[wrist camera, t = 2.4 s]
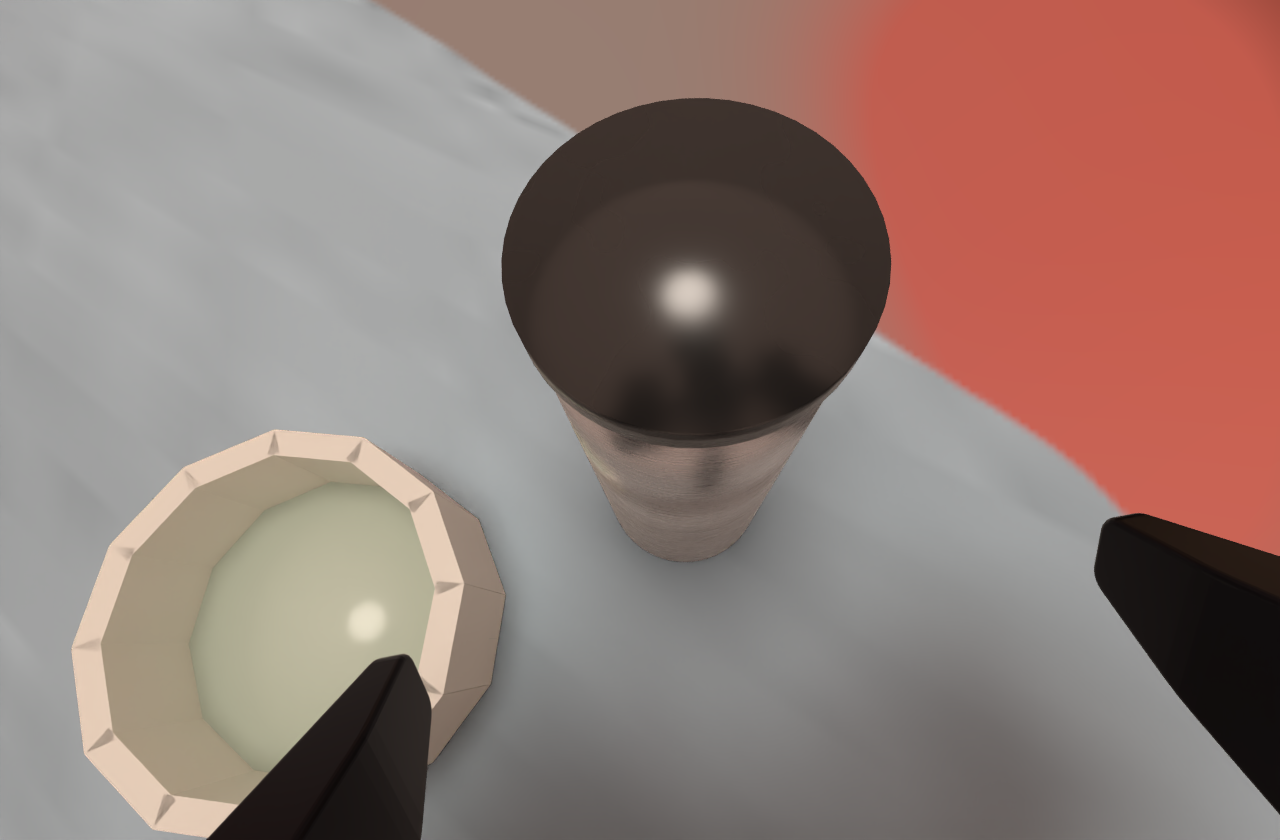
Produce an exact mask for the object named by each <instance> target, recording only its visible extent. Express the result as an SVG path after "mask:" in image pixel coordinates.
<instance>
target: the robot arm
mask: <svg viewBox="0 0 1280 840" xmlns="http://www.w3.org/2000/svg"><path fill="white" fill-rule="evenodd" d="M1094 573H1095V578H1096V581H1097V583H1098V585H1099V587H1100V589H1101V591H1102V592H1103V593H1104V595H1105V596H1106V598H1107V599H1108V600H1109V602H1110V603H1111V605H1112V606H1113V607H1114V609H1115V610H1116V611H1117V613H1118V614H1119V616H1120V617H1121V618H1122V620H1123V621H1124V623H1125V624H1126V625H1127V627H1128V628H1129V630H1130V631H1131V632H1132V634H1133V635H1134V637H1135V638H1136V639H1137V641H1138V642H1139V644H1140V645H1141V646H1142V648H1143V649H1144V651H1145V652H1146V653H1147V655H1148V656H1149V657H1150V659H1151V660H1152V662H1153V663H1154V664H1155V666H1156V667H1157V669H1158V670H1159V671H1160V673H1161V674H1162V676H1163V677H1164V678H1165V680H1166V681H1167V682H1168V684H1169V685H1170V686H1171V688H1172V689H1173V690H1174V691H1175V693H1176V694H1177V695H1178V697H1179V698H1180V699H1181V700H1182V701H1183V703H1184V704H1185V705H1186V706H1187V707H1188V709H1189V710H1190V711H1191V712H1192V714H1193V715H1194V716H1195V717H1196V718H1197V719H1198V721H1199V722H1200V723H1201V724H1202V725H1203V726H1204V727H1205V729H1206V730H1207V731H1208V732H1209V733H1210V734H1211V736H1212V737H1213V738H1214V739H1215V740H1216V741H1217V743H1218V744H1219V745H1220V746H1221V747H1222V748H1223V749H1224V751H1225V752H1226V753H1227V754H1228V755H1229V756H1230V758H1231V759H1232V760H1233V761H1234V762H1235V763H1236V765H1237V766H1238V767H1239V768H1240V769H1241V770H1242V771H1243V773H1244V774H1245V775H1246V776H1247V777H1248V778H1249V780H1250V781H1251V782H1252V783H1253V784H1254V785H1255V787H1256V788H1257V789H1258V790H1259V791H1260V792H1261V793H1262V795H1263V796H1264V797H1265V798H1266V799H1267V800H1268V802H1269V803H1270V804H1271V805H1272V806H1273V807H1274V809H1275V810H1276V811H1277V812H1278V813H1279V814H1280V556H1277V555H1274V554H1271V553H1267V552H1264V551H1261V550H1258V549H1255V548H1252V547H1248V546H1245V545H1242V544H1239V543H1236V542H1233V541H1229V540H1226V539H1223V538H1220V537H1217V536H1214V535H1210V534H1207V533H1204V532H1201V531H1198V530H1195V529H1191V528H1188V527H1185V526H1182V525H1179V524H1176V523H1172V522H1169V521H1166V520H1163V519H1160V518H1157V517H1153V516H1150V515H1147V514H1141V513H1135V514H1129V515H1124V516H1119V517H1113V518H1110V519H1108V520H1106V522H1105V523H1104V524H1103V525H1102V528H1101V533H1100V538H1099V544H1098V549H1097V555H1096V560H1095V565H1094ZM431 719H432V708H431V702H430V698H429V695H428V693H427V690H426V688H425V686H424V684H423V681H422V679H421V677H420V675H419V672H418V670H417V668H416V666H415V663H414V661H413V660H412V658H411V657H410V656H409V655H407V654H398V655H393V656H388V657H382V658H379V659H376V660H374V661H373V662H372V663H371V664H370V665H369V666H368V667H367V668H366V669H365V670H364V671H363V672H362V673H361V674H360V675H359V676H358V677H357V678H356V680H355V681H354V682H353V683H352V684H351V685H350V686H349V687H348V688H347V689H346V690H345V691H344V692H343V693H342V695H341V696H340V697H339V698H338V699H337V700H336V701H335V702H334V703H333V704H332V705H331V706H330V707H329V708H328V710H327V711H326V712H325V713H324V714H323V715H322V716H321V717H320V718H319V719H318V720H317V721H316V722H315V723H314V725H313V726H312V727H311V728H310V729H309V730H308V731H307V732H306V733H305V734H304V735H303V736H302V737H301V739H300V740H299V741H298V742H297V743H296V744H295V745H294V746H293V747H292V748H291V749H290V750H289V751H288V752H287V754H286V755H285V756H284V757H283V758H282V759H281V760H280V761H279V762H278V763H277V764H276V765H275V766H274V767H273V769H272V770H271V771H270V772H269V773H268V774H267V775H266V776H265V777H264V778H263V779H262V780H261V781H260V782H259V784H258V785H257V786H256V787H255V788H254V789H253V790H252V791H251V792H250V793H249V794H248V795H247V796H246V797H245V799H244V800H243V801H242V802H241V803H240V804H239V805H238V806H237V807H236V808H235V809H234V810H233V811H232V812H231V814H230V815H229V816H228V817H227V818H226V819H225V820H224V821H223V822H222V823H221V824H220V825H219V826H218V827H217V829H216V830H215V831H214V832H213V833H212V834H211V835H210V836H209V837H208V838H207V839H206V840H421V833H422V823H423V813H424V801H425V789H426V778H427V766H428V754H429V743H430V731H431Z"/></svg>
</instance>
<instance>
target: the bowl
mask: <svg viewBox="0 0 1280 840" xmlns="http://www.w3.org/2000/svg"><path fill="white" fill-rule="evenodd" d="M110 545H111V546H110ZM110 545H109V548H108V551H107V553H106V556H105V559H104V561H103V564H102V567H101V570H100V572H99V575H98V578H97V580H96V583H95V586H94V589H93V591H92V594H91V597H90V599H89V602H88V605H87V607H86V610H85V613H84V616H83V618H82V621H81V624H80V626H79V629H78V632H77V635H76V637H75V640H74V643H73V645H72V648H73V649H71V650H72V658H73V667H74V675H75V683H76V691H77V699H78V707H79V715H80V723H81V731H82V739H83V747H84V754H85V755H86V757H87V758H88V759H89V760H90V761H91V762H92V763H93V764H94V765H95V767H96V768H97V769H98V770H99V771H100V772H101V773H102V774H103V775H104V776H105V778H106V779H107V780H108V781H109V782H110V783H111V784H112V785H113V786H114V787H115V789H116V790H117V791H118V792H119V793H120V794H121V795H122V796H123V797H124V799H125V800H126V801H127V802H128V803H129V804H130V805H131V806H132V807H133V808H134V810H135V811H136V812H137V813H138V814H139V815H140V816H141V817H142V818H143V819H144V821H145V822H146V823H147V824H148V825H149V826H150V827H151V828H152V829H153V830H159V831H166V832H173V833H179V834H186V835H193V836H199V837H206V838H208V837H209V836H210V835H211V834H212V833H213V832H214V831H215V830H216V829H217V827H218V826H219V825H220V824H221V823H222V822H223V821H224V820H225V819H226V818H227V817H228V816H229V815H230V814H231V812H232V811H233V810H234V809H235V808H236V807H237V806H238V805H239V804H240V803H241V802H242V801H243V800H244V799H245V797H246V796H247V795H248V794H249V793H250V792H251V791H252V790H253V789H254V788H255V787H256V786H257V785H258V784H259V782H260V781H261V780H262V779H263V778H264V777H265V776H266V775H267V774H268V773H269V772H270V771H271V770H272V769H273V767H274V766H275V765H276V764H277V763H278V762H279V761H280V760H281V759H282V758H283V757H284V756H285V755H286V754H287V752H288V751H289V750H290V749H291V748H292V747H293V746H294V745H295V744H296V743H297V742H298V741H299V740H300V739H301V737H302V736H303V735H304V734H305V733H306V732H307V731H308V730H309V729H310V728H311V727H312V726H313V725H314V723H315V722H316V721H317V720H318V719H319V718H320V717H321V716H322V715H323V714H324V713H325V712H326V711H327V710H328V708H329V707H330V706H331V705H332V704H333V703H334V702H335V701H336V700H337V699H338V698H339V697H340V696H341V695H342V693H343V692H344V691H345V690H346V689H347V688H348V687H349V686H350V685H351V684H352V683H353V682H354V681H355V680H356V678H357V677H358V676H359V675H360V674H361V673H362V672H363V671H364V670H365V669H366V668H367V667H368V666H369V665H370V664H371V663H372V662H373V661H374V660H376V659H379V658H382V657H388V656H393V655H398V654H407V655H409V656H410V657H411V658H412V660H413V661H414V663H415V666H416V668H417V670H418V672H419V675H420V677H421V679H422V681H423V684H424V686H425V688H426V690H427V693H428V695H429V698H430V702H431V708H432V719H431V731H430V743H429V754H428V765H429V764H431V763H433V762H434V760H435V759H436V758H437V756H438V755H439V754H440V752H441V751H442V750H443V748H444V747H445V746H446V744H447V743H448V741H449V740H450V739H451V737H452V736H453V735H454V733H455V732H456V731H457V729H458V728H459V727H460V725H461V724H462V723H463V721H464V720H465V718H466V717H467V716H468V714H469V713H470V712H471V710H472V709H473V708H474V706H475V705H476V704H477V702H478V701H479V699H480V698H481V697H482V695H483V694H484V693H485V691H486V690H487V689H488V687H489V686H490V684H491V680H492V674H493V668H494V662H495V656H496V650H497V644H498V638H499V632H500V626H501V620H502V614H503V608H504V603H505V597H506V594H505V591H504V589H503V586H502V583H501V580H500V577H499V575H498V572H497V569H496V566H495V563H494V561H493V558H492V555H491V552H490V549H489V547H488V544H487V541H486V538H485V535H484V533H483V530H482V527H481V524H480V521H479V520H478V519H477V518H476V517H475V516H474V515H472V514H471V513H470V512H468V511H467V510H466V509H465V508H463V507H462V506H461V505H459V504H458V503H457V502H455V501H454V500H453V499H452V498H450V497H449V496H448V495H446V494H445V493H444V492H443V491H441V490H440V489H439V488H437V487H436V486H435V485H434V484H432V483H431V482H430V481H428V480H427V479H426V478H424V477H423V476H422V475H421V474H419V473H417V472H416V471H414V470H413V469H411V468H410V467H408V466H407V465H405V464H404V463H402V462H401V461H399V460H398V459H396V458H395V457H393V456H391V455H390V454H388V453H387V452H385V451H384V450H382V449H381V448H379V447H378V446H376V445H375V444H373V443H372V442H370V441H369V440H367V439H365V438H364V437H353V436H342V435H331V434H319V433H308V432H297V431H286V430H272V431H270V432H267V433H265V434H263V435H260V436H258V437H255V438H253V439H251V440H248V441H246V442H243V443H241V444H239V445H236V446H234V447H231V448H229V449H227V450H224V451H222V452H219V453H217V454H215V455H212V456H210V457H207V458H205V459H203V460H200V461H198V462H195V463H193V464H191V465H188V466H186V467H184V468H183V469H182V470H181V471H180V472H179V473H178V474H177V475H176V476H175V477H174V478H173V479H172V480H171V481H170V482H169V483H168V484H167V485H166V486H165V487H164V489H163V490H162V491H161V492H160V493H159V494H158V495H157V496H156V497H155V498H154V499H153V500H152V501H151V502H150V503H149V504H148V505H147V506H146V507H145V508H144V509H143V511H142V512H141V513H140V514H139V515H138V516H137V517H136V518H135V519H134V520H133V521H132V522H131V523H130V524H129V525H128V526H127V527H126V528H125V529H124V530H123V532H122V533H121V534H120V535H119V536H118V537H117V538H116V539H115V540H114V541H113V542H112V543H111V544H110Z"/></svg>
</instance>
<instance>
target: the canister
mask: <svg viewBox="0 0 1280 840" xmlns="http://www.w3.org/2000/svg"><path fill="white" fill-rule="evenodd" d="M890 271H891V255H890V244H889V237H888V233H887V229H886V225H885V221H884V218H883V215H882V213H881V211H880V208H879V206H878V203H877V201H876V199H875V197H874V195H873V193H872V192H871V190H870V188H869V187H868V185H867V183H866V182H865V180H864V178H863V177H862V176H861V175H860V173H859V172H858V171H857V170H856V168H855V167H854V166H853V165H852V163H851V162H850V161H849V160H848V159H847V158H846V157H845V156H844V155H843V154H842V153H841V152H840V151H839V150H838V149H836V148H835V147H834V146H833V145H832V144H831V143H829V142H828V141H827V140H825V139H824V138H823V137H821V136H820V135H818V134H817V133H816V132H814V131H813V130H811V129H809V128H807V127H806V126H804V125H802V124H800V123H799V122H797V121H795V120H792V119H790V118H788V117H786V116H784V115H781V114H779V113H777V112H774V111H771V110H768V109H765V108H761V107H758V106H754V105H751V104H746V103H741V102H735V101H730V100H720V99H709V98H694V99H693V98H692V99H691V98H689V99H676V100H667V101H659V102H655V103H651V104H646V105H641V106H637V107H634V108H632V109H629V110H625V111H622V112H619V113H617V114H614V115H612V116H610V117H608V118H605V119H603V120H601V121H599V122H597V123H595V124H593V125H592V126H590V127H589V128H586V129H585V130H583V131H581V132H580V133H578V134H576V135H575V136H574V137H573V138H571V139H570V140H569V141H567V142H566V143H565V144H563V145H562V146H561V147H559V148H558V149H557V150H556V151H555V152H554V153H553V154H552V155H551V156H550V157H549V158H548V159H547V160H546V161H545V162H544V163H543V164H542V165H541V167H540V168H539V169H538V170H537V172H536V173H535V174H534V175H533V176H532V178H531V179H530V180H529V182H528V184H527V185H526V187H525V189H524V190H523V192H522V193H521V195H520V197H519V198H518V201H517V203H516V205H515V208H514V210H513V212H512V214H511V217H510V220H509V223H508V227H507V230H506V234H505V237H504V244H503V252H502V284H503V290H504V295H505V301H506V305H507V308H508V311H509V314H510V317H511V320H512V323H513V325H514V327H515V329H516V331H517V333H518V335H519V337H520V339H521V341H522V343H523V345H524V347H525V349H526V350H527V352H528V354H529V356H530V358H531V360H532V362H533V364H534V366H535V367H536V368H537V370H538V371H539V373H540V374H541V375H542V377H543V378H544V380H545V381H546V382H547V384H548V385H549V386H550V387H551V388H552V389H553V390H554V391H555V392H556V394H557V396H558V398H559V400H560V402H561V404H562V406H563V408H564V411H565V413H566V415H567V417H568V419H569V421H570V423H571V425H572V427H573V429H574V431H575V433H576V435H577V437H578V439H579V441H580V443H581V445H582V447H583V449H584V451H585V453H586V455H587V458H588V460H589V462H590V464H591V466H592V468H593V470H594V472H595V474H596V476H597V478H598V480H599V482H600V484H601V486H602V488H603V490H604V492H605V494H606V496H607V498H608V500H609V502H610V505H611V507H612V509H613V511H614V513H615V515H616V517H617V519H618V521H619V523H620V525H621V526H622V528H623V529H624V531H625V532H626V534H627V535H628V536H629V537H630V538H631V539H632V540H633V541H634V542H635V543H636V544H637V545H638V546H640V547H641V548H642V549H644V550H645V551H647V552H649V553H651V554H653V555H655V556H657V557H660V558H663V559H666V560H671V561H677V562H693V561H700V560H704V559H708V558H710V557H713V556H716V555H718V554H719V553H721V552H723V551H725V550H726V549H728V548H729V547H730V546H732V545H733V544H734V543H735V542H736V541H737V540H738V539H739V538H740V537H741V536H742V534H743V533H744V532H745V530H746V529H747V527H748V526H749V524H750V522H751V521H752V519H753V517H754V516H755V514H756V512H757V511H758V509H759V507H760V505H761V504H762V502H763V500H764V499H765V497H766V495H767V494H768V492H769V490H770V489H771V487H772V485H773V484H774V482H775V480H776V479H777V477H778V475H779V474H780V472H781V470H782V469H783V467H784V465H785V464H786V462H787V460H788V459H789V457H790V455H791V454H792V452H793V450H794V449H795V447H796V445H797V444H798V442H799V440H800V439H801V437H802V435H803V434H804V432H805V430H806V429H807V427H808V425H809V424H810V422H811V420H812V419H813V417H814V415H815V414H816V412H817V410H818V409H819V407H820V405H821V404H822V402H823V401H824V400H825V399H826V398H827V397H828V396H829V395H830V394H831V393H832V392H833V391H834V390H835V389H836V388H837V387H838V386H839V385H840V384H841V382H842V381H843V380H844V378H845V377H846V376H847V375H848V373H849V372H850V371H851V370H852V368H853V366H854V365H855V363H856V362H857V360H858V358H859V357H860V355H861V354H862V352H863V351H864V349H865V347H866V346H867V344H868V342H869V340H870V339H871V337H872V335H873V333H874V332H875V330H876V328H877V326H878V323H879V320H880V317H881V315H882V313H883V310H884V307H885V304H886V299H887V294H888V290H889V285H890Z"/></svg>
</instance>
